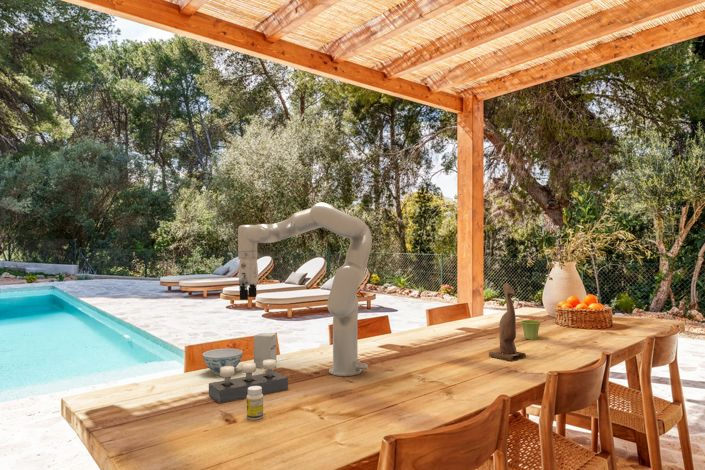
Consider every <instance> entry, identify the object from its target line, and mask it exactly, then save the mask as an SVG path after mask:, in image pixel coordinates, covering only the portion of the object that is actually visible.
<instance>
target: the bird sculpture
mask: <svg viewBox="0 0 705 470" xmlns="http://www.w3.org/2000/svg"><path fill="white" fill-rule="evenodd" d="M502 288H503V289H502V290H503V294H504V299H505V303H506V304H505V305H506V312H504V313H503V315H502V316H501V317H500V321H499V332H498V333H499V349H497V350H496V349H495V350H493V351H492V350H491V351H489V352H488V358H493V359H496V360H498V359H499V360H501V361H508V362H511V361H512V359H513V357H515V356H516V357H523V358H527V354H526V353H525V352H521V351H517V346H516V344H515V340H516V337H517V324H516V323H517V322H516V311H515V308H514V303H513V300H512V297H511V296H513V297H516V290H514V288H512V287H511V285H510V284H509V283H508V282H506V283H505V284H503V287H502Z"/></svg>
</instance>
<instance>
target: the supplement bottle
mask: <svg viewBox="0 0 705 470" xmlns="http://www.w3.org/2000/svg"><path fill="white" fill-rule="evenodd" d="M246 418H247V419H248V420H250V421H251V420H254V421H255V420H261V419H262V418H264V394H262V387H260V386H251V387H249V388H248V395H247V398H246Z"/></svg>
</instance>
